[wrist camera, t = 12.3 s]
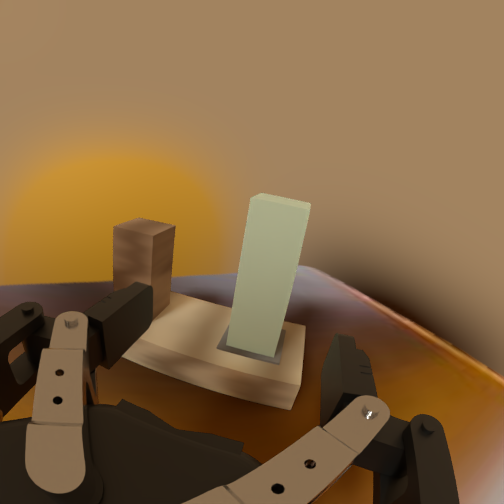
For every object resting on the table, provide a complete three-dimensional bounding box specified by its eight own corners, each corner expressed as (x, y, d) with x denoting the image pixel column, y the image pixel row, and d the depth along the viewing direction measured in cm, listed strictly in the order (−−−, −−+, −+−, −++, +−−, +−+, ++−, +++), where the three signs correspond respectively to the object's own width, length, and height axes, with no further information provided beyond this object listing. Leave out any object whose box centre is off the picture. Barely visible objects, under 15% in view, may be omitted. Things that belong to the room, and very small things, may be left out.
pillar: (226, 344, 23) (250, 197, 19) (238, 321, 26) (261, 192, 23) (273, 357, 22) (310, 209, 18) (279, 332, 26) (310, 203, 22)
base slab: (98, 345, 23) (90, 231, 20) (144, 305, 31) (147, 212, 28) (290, 410, 20) (333, 291, 17) (298, 349, 29) (326, 251, 26)
